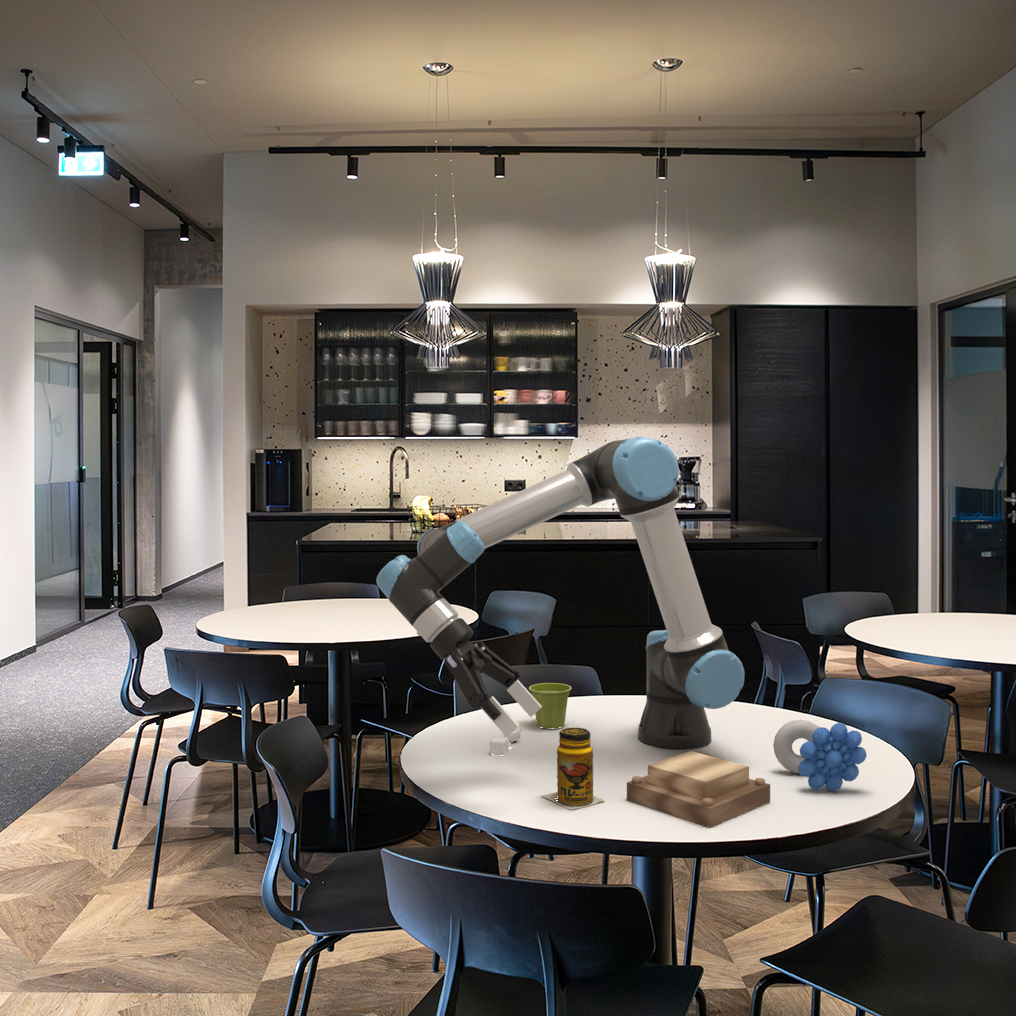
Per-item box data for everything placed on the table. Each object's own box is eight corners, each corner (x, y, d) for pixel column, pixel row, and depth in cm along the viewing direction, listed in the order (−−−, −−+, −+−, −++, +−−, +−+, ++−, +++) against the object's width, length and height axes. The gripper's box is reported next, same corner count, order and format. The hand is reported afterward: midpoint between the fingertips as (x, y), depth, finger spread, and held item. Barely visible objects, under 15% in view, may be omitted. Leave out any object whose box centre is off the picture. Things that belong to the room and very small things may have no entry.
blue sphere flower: (857, 783, 163) (858, 716, 163) (870, 796, 157) (871, 726, 156) (791, 782, 164) (792, 716, 164) (801, 795, 157) (802, 726, 157)
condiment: (571, 811, 150) (571, 738, 150) (540, 796, 157) (540, 727, 157) (605, 802, 155) (605, 731, 154) (573, 788, 161) (573, 721, 161)
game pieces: (504, 758, 180) (504, 742, 180) (488, 757, 181) (488, 741, 181) (522, 741, 192) (522, 725, 192) (507, 739, 193) (507, 724, 193)
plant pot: (540, 733, 197) (540, 693, 196) (522, 723, 205) (522, 685, 205) (578, 729, 200) (578, 689, 200) (559, 719, 209) (559, 681, 209)
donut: (828, 772, 170) (828, 718, 170) (831, 778, 166) (831, 723, 166) (772, 769, 172) (772, 716, 171) (774, 775, 168) (774, 721, 168)
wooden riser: (626, 799, 155) (626, 764, 155) (688, 778, 167) (688, 745, 167) (709, 827, 143) (709, 789, 143) (770, 802, 154) (770, 766, 154)
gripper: (456, 633, 175) (531, 717, 170) (400, 657, 151) (486, 755, 147) (482, 607, 173) (559, 691, 169) (430, 626, 149) (517, 725, 145)
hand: (525, 721), depth 158 cm, fingers open, 13 cm apart
